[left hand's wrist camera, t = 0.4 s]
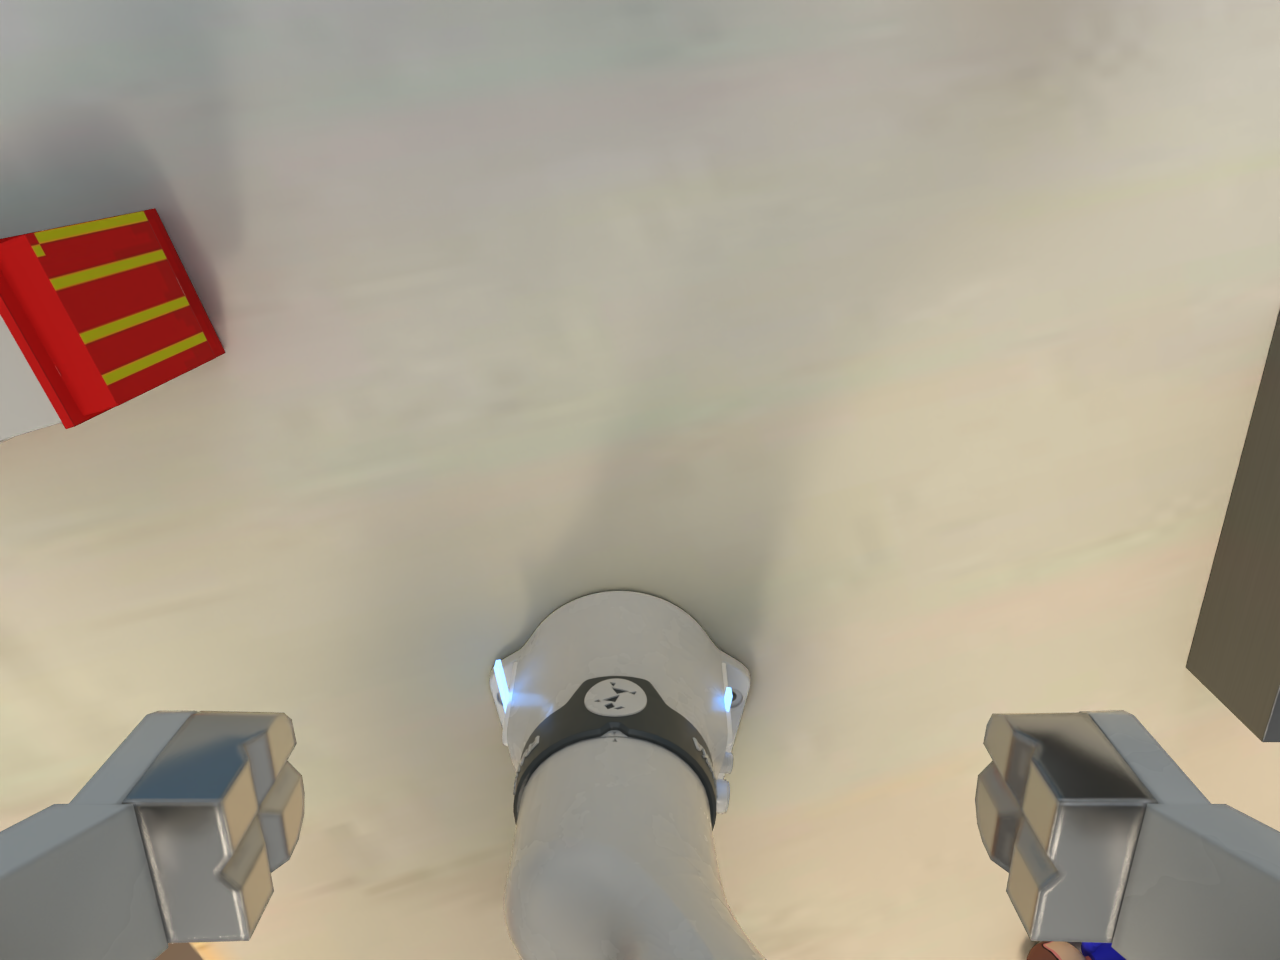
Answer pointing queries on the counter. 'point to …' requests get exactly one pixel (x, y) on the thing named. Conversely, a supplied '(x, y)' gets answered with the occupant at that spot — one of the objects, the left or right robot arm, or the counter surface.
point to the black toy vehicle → (1073, 951)
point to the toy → (93, 320)
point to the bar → (1248, 577)
